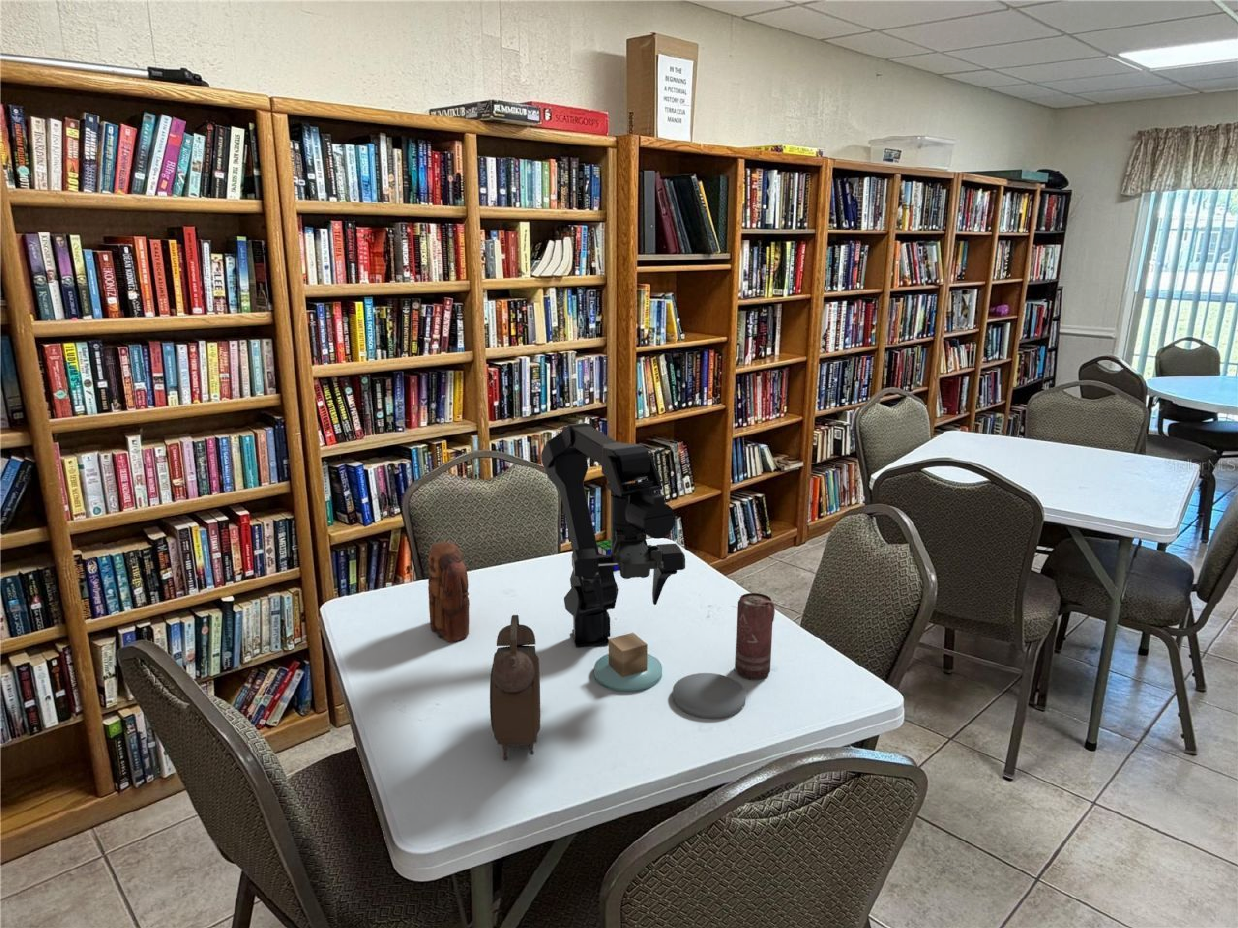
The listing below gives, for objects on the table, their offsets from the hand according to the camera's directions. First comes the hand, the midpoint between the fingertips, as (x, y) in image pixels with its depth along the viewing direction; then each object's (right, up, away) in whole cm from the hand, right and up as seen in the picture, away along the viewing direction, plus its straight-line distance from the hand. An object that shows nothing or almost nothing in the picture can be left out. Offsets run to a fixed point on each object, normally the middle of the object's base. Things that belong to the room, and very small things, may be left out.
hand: (628, 605), depth 134 cm
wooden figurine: (-35, -9, +20) cm, 41 cm away
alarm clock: (-17, -18, -16) cm, 29 cm away
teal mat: (0, -13, +3) cm, 13 cm away
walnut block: (0, -11, +3) cm, 12 cm away
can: (+22, -13, +4) cm, 26 cm away
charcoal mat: (+13, -15, -4) cm, 20 cm away
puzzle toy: (-4, 0, +51) cm, 51 cm away
